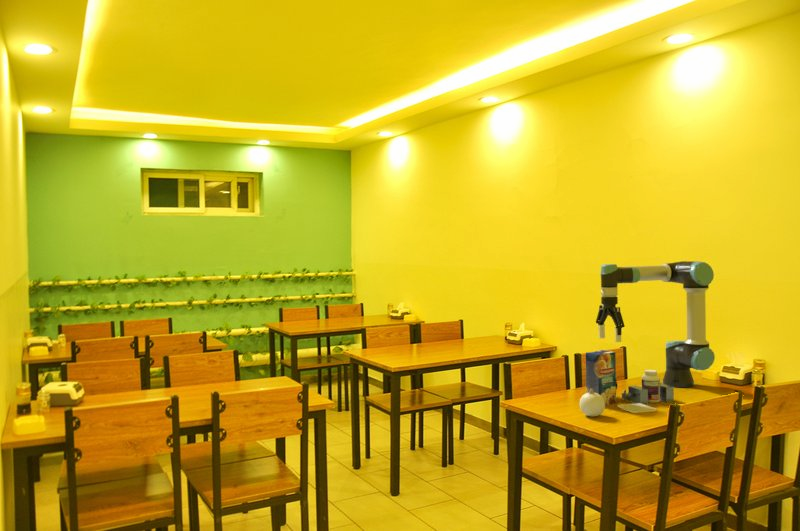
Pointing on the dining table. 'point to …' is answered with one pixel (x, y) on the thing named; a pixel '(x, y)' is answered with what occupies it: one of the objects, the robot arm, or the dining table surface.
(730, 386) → the dining table surface
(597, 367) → the cereal box
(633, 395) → the vise
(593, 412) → the ornament
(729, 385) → the dining table surface
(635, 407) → the trivet
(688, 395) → the dining table surface
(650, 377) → the pill bottle
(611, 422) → the dining table surface
